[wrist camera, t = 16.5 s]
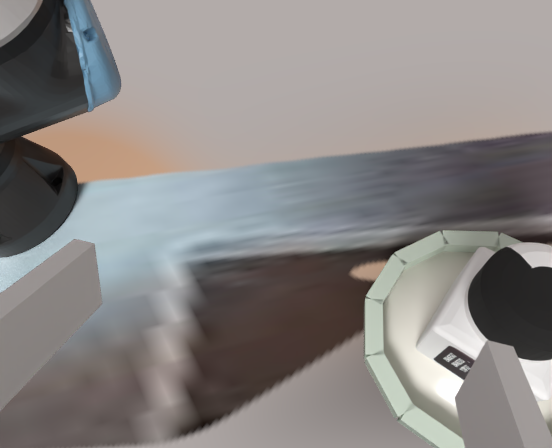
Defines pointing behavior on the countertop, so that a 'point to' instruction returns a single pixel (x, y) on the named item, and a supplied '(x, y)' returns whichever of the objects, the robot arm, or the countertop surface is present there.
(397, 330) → the round tray
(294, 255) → the countertop surface
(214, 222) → the countertop surface
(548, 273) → the container
